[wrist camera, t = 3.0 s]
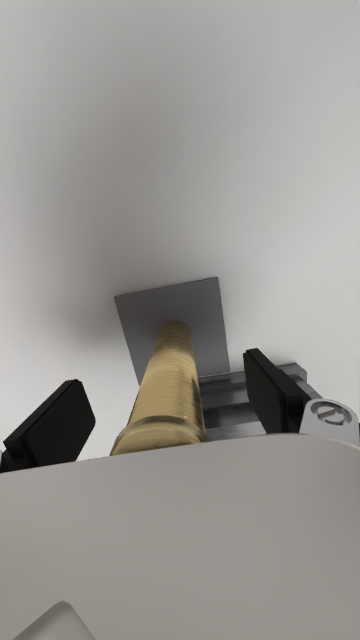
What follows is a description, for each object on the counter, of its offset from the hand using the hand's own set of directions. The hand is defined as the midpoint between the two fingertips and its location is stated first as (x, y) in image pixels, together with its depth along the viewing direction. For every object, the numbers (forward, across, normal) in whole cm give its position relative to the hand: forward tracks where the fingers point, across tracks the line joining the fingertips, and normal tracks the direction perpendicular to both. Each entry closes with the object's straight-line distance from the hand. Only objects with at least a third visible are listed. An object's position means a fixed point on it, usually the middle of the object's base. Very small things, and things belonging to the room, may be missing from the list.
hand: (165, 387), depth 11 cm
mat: (+7, 0, 0) cm, 7 cm away
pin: (+7, 0, 0) cm, 7 cm away
